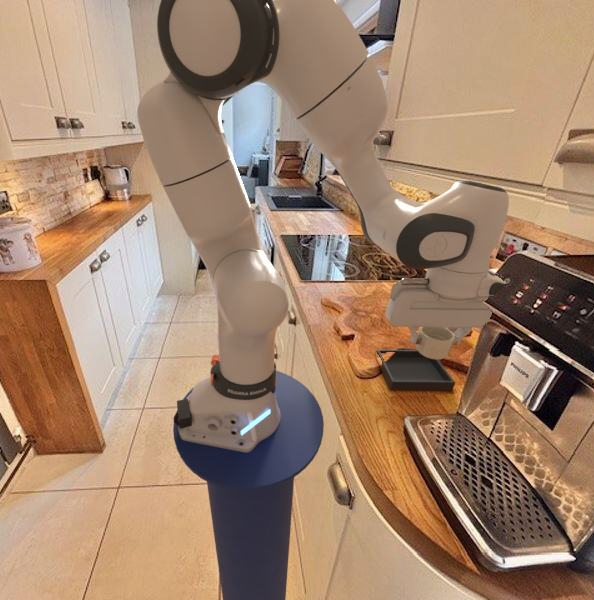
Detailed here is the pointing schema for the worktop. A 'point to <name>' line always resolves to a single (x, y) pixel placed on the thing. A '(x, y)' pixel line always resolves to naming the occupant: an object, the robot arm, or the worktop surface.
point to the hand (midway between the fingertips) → (434, 343)
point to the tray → (415, 372)
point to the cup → (435, 342)
